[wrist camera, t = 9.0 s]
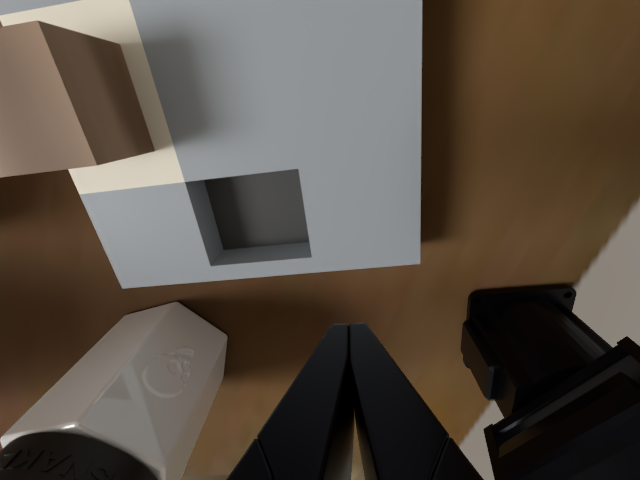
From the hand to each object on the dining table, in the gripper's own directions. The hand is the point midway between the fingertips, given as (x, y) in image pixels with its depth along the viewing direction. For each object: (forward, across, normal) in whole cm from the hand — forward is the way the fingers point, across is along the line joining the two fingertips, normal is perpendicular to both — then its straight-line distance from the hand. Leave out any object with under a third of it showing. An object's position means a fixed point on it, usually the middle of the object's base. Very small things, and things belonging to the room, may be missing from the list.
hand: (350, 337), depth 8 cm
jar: (+12, +14, +10) cm, 21 cm away
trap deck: (+12, +5, -7) cm, 14 cm away
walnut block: (+9, +12, -7) cm, 16 cm away
